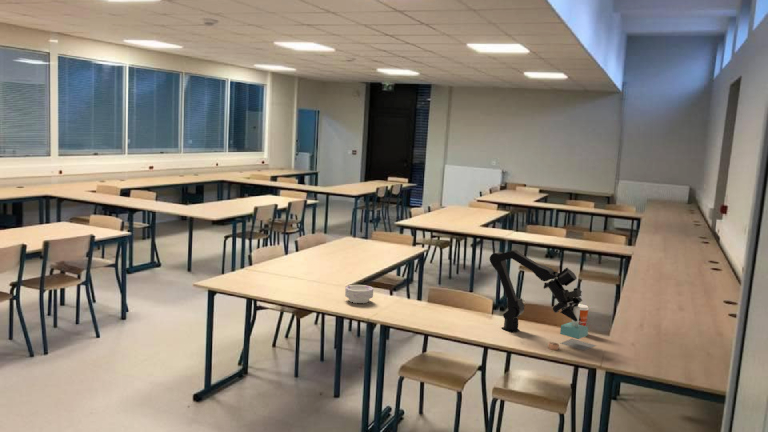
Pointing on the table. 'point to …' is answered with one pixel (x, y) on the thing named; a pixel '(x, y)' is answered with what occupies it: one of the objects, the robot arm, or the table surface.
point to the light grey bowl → (359, 293)
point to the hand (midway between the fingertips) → (578, 320)
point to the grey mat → (578, 344)
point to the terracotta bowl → (553, 346)
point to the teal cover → (574, 327)
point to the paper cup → (583, 314)
